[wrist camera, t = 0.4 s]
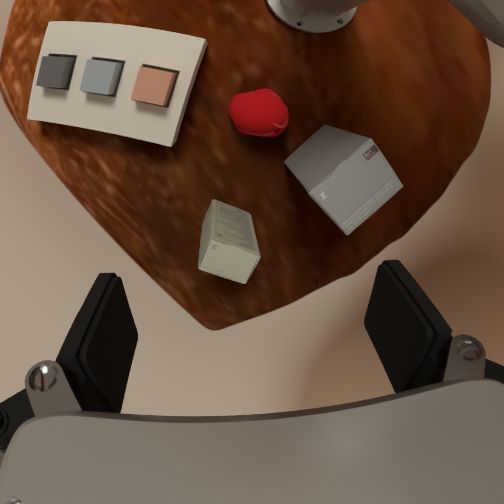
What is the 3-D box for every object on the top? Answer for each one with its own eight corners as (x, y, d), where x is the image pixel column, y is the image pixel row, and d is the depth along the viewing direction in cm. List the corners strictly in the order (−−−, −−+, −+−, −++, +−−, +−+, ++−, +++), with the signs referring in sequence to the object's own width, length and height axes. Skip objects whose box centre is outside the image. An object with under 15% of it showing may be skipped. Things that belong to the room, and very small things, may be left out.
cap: (303, 97, 34) (269, 76, 30) (292, 142, 35) (257, 125, 31) (259, 101, 40) (226, 85, 36) (249, 140, 41) (214, 127, 37)
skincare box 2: (311, 191, 44) (347, 245, 30) (278, 156, 41) (304, 197, 28) (354, 154, 41) (409, 192, 28) (323, 117, 38) (373, 137, 25)
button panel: (62, 24, 28) (49, 21, 24) (207, 43, 32) (205, 39, 29) (41, 114, 34) (26, 118, 31) (176, 141, 39) (171, 146, 35)
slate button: (97, 60, 29) (87, 59, 27) (124, 63, 30) (116, 62, 28) (89, 89, 31) (79, 90, 29) (116, 93, 32) (107, 94, 29)
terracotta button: (146, 67, 31) (139, 66, 28) (177, 73, 32) (172, 72, 29) (137, 97, 33) (130, 98, 30) (167, 104, 34) (162, 105, 31)
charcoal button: (53, 56, 28) (42, 56, 25) (77, 58, 29) (67, 57, 26) (47, 84, 30) (35, 85, 27) (70, 86, 30) (59, 88, 28)
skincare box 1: (201, 223, 45) (194, 269, 35) (213, 196, 43) (208, 237, 33) (240, 237, 47) (245, 286, 37) (253, 212, 45) (261, 256, 35)
